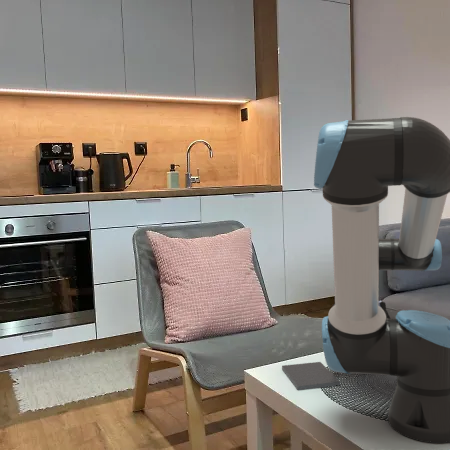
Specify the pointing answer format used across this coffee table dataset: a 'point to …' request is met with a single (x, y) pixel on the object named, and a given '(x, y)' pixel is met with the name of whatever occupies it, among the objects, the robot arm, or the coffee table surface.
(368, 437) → the coffee table surface
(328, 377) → the plate
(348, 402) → the coffee table surface
